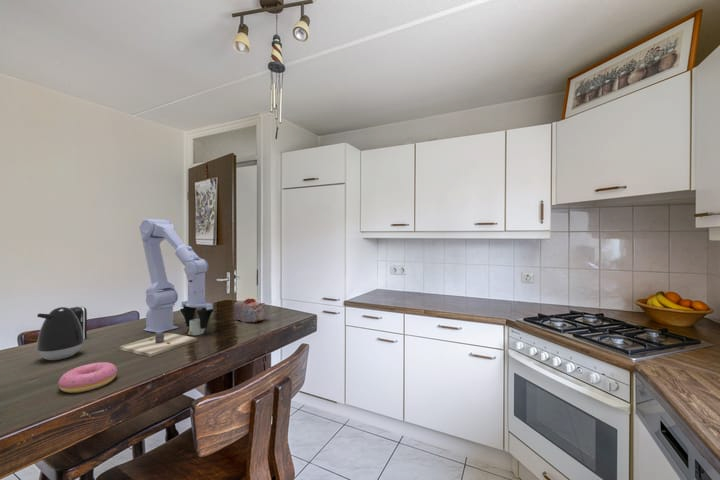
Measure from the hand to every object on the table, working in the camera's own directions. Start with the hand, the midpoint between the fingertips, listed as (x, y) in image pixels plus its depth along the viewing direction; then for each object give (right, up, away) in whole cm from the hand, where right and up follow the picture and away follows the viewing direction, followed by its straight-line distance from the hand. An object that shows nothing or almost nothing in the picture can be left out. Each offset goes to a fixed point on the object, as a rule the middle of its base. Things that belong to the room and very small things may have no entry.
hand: (196, 326), depth 115 cm
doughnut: (-5, -3, -40) cm, 41 cm away
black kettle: (-29, -3, -23) cm, 37 cm away
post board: (-6, -2, -13) cm, 14 cm away
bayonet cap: (0, -2, 0) cm, 2 cm away
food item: (+13, -3, +18) cm, 23 cm away
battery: (-40, -3, -6) cm, 41 cm away
